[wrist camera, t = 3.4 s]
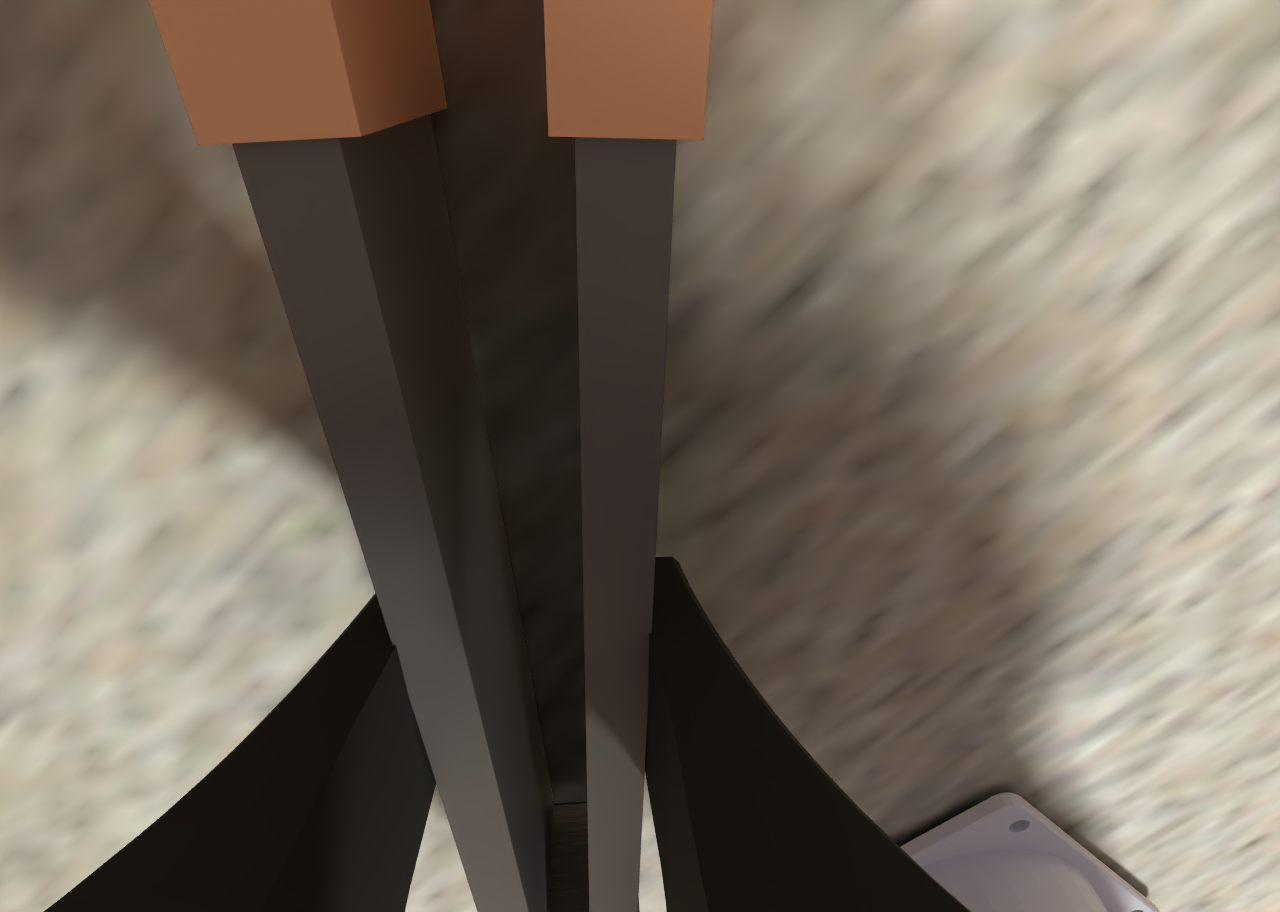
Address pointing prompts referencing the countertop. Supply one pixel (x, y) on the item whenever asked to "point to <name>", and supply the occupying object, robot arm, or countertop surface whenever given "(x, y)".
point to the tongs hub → (570, 859)
